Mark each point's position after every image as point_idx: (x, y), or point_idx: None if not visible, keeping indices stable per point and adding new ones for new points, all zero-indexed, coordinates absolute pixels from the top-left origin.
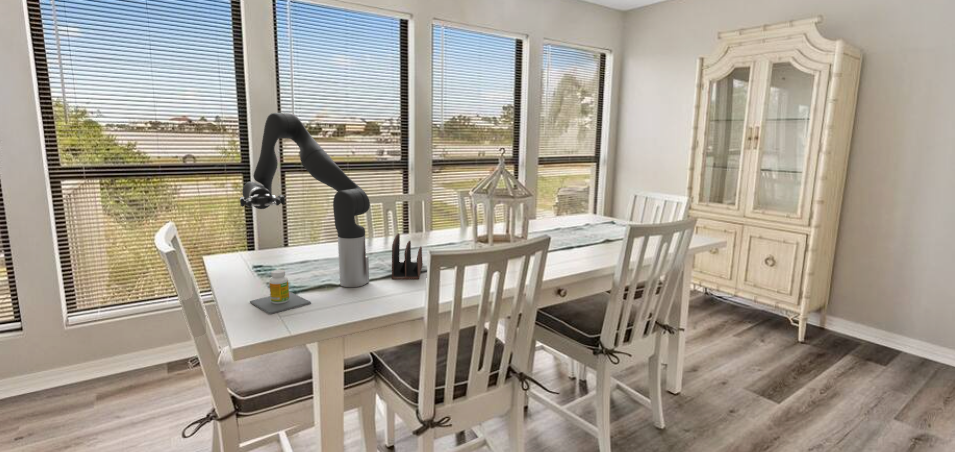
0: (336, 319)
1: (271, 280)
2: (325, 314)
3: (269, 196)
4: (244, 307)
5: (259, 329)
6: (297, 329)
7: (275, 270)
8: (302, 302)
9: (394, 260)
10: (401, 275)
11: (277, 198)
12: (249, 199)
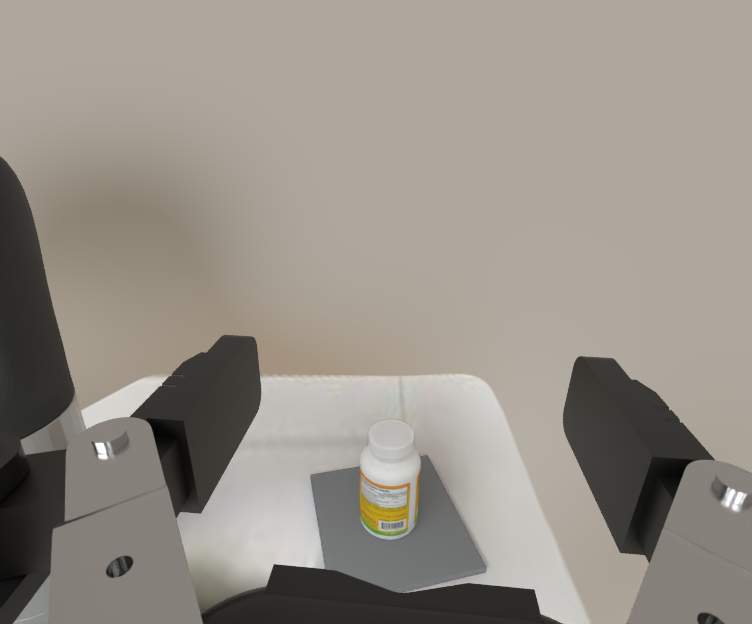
0: (306, 391)
1: (415, 448)
2: (312, 414)
3: (188, 575)
4: (499, 537)
5: (452, 407)
6: (385, 385)
7: (398, 442)
8: (332, 479)
9: None
10: None
11: (195, 369)
12: (665, 449)
